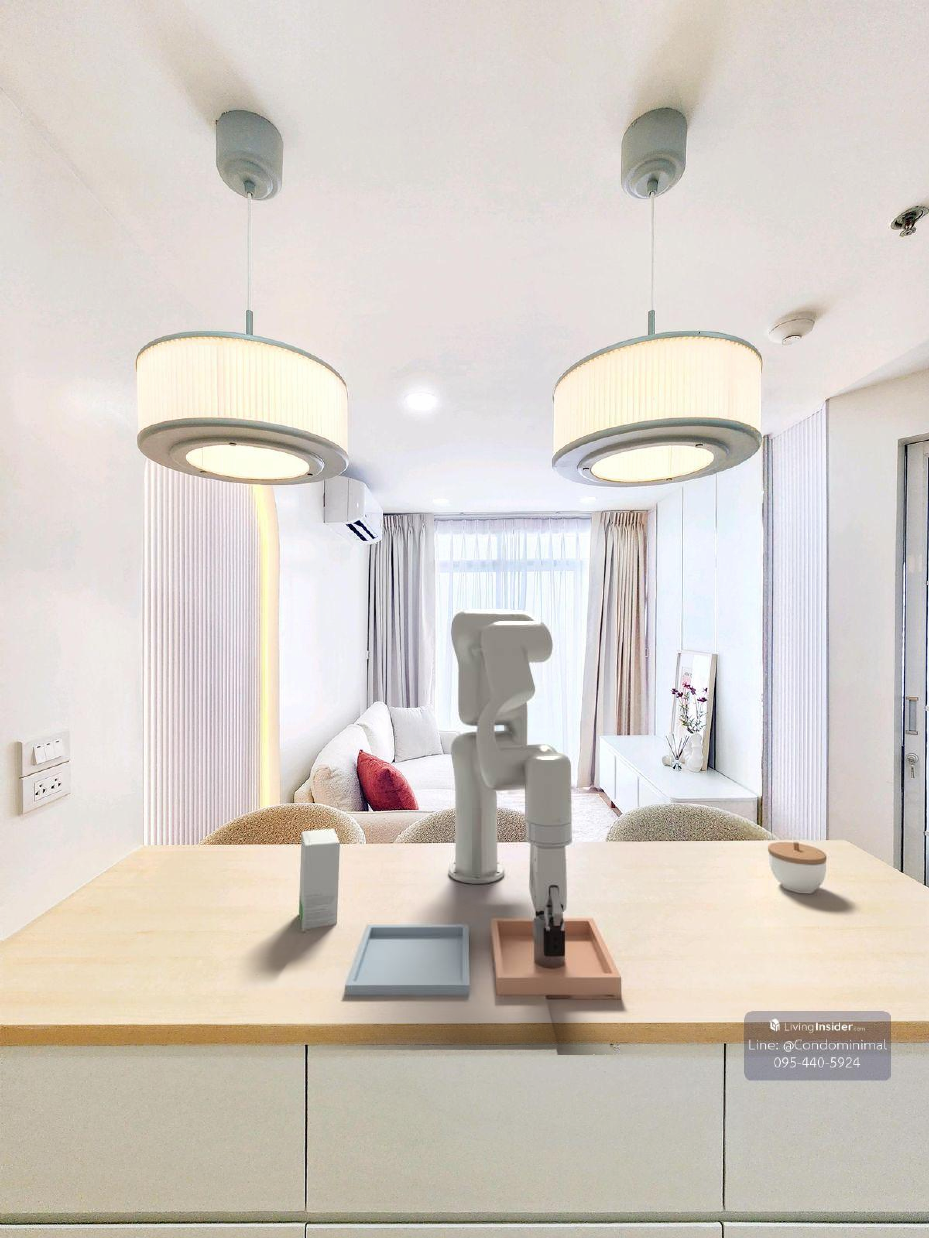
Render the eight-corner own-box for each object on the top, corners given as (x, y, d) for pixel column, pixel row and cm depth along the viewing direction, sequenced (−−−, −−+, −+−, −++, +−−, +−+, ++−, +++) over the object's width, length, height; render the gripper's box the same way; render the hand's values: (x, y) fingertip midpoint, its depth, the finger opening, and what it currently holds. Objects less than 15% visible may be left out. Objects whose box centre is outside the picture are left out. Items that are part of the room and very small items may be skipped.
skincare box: (298, 913, 108) (299, 830, 109) (333, 907, 110) (334, 826, 111) (302, 933, 100) (303, 844, 101) (339, 927, 102) (340, 840, 103)
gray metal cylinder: (532, 951, 93) (531, 914, 93) (562, 951, 93) (561, 914, 93) (535, 968, 88) (535, 928, 88) (567, 968, 88) (567, 928, 88)
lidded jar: (811, 878, 124) (809, 834, 124) (838, 899, 113) (837, 852, 114) (760, 876, 125) (759, 833, 126) (782, 897, 114) (781, 850, 115)
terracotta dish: (491, 935, 99) (491, 918, 99) (593, 935, 99) (592, 918, 99) (497, 998, 81) (497, 977, 81) (621, 998, 81) (621, 977, 81)
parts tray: (366, 936, 99) (366, 924, 99) (468, 935, 99) (468, 924, 99) (344, 999, 81) (345, 985, 81) (469, 999, 81) (469, 984, 81)
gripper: (520, 815, 100) (520, 913, 99) (531, 849, 83) (532, 969, 82) (562, 815, 100) (563, 913, 99) (582, 849, 83) (584, 969, 82)
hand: (549, 938), depth 90 cm, fingers open, 9 cm apart
